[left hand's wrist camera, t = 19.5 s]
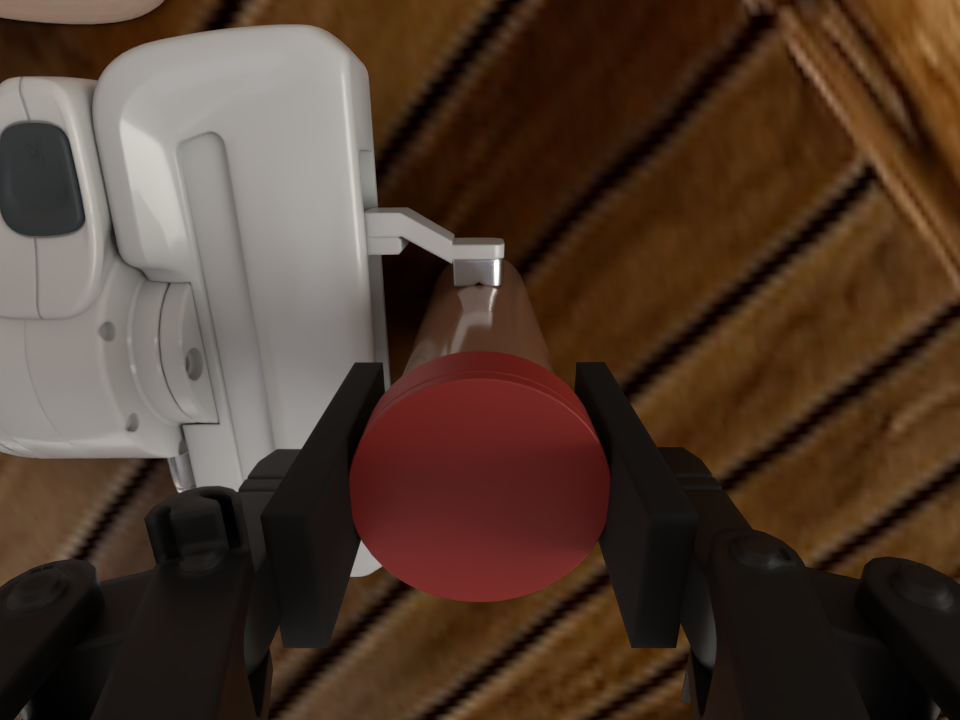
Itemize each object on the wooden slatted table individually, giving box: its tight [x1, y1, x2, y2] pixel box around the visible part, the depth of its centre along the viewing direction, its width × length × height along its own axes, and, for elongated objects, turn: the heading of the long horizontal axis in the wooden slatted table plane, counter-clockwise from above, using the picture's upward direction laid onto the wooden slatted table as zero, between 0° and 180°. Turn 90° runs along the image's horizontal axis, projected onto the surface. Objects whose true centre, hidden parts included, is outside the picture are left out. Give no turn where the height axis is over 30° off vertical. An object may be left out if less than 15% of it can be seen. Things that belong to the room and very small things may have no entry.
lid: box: [349, 351, 611, 602], centre depth 11 cm, size 5×5×2 cm
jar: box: [402, 259, 558, 377], centre depth 19 cm, size 5×5×16 cm
